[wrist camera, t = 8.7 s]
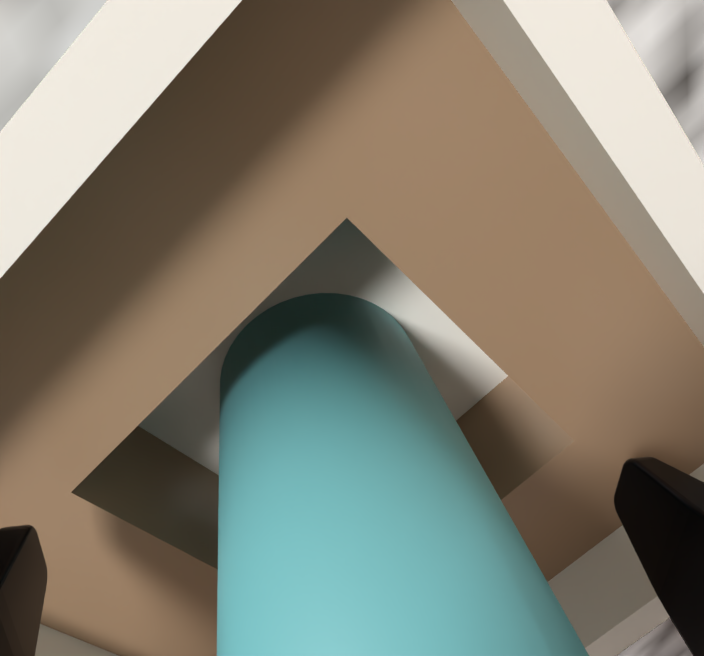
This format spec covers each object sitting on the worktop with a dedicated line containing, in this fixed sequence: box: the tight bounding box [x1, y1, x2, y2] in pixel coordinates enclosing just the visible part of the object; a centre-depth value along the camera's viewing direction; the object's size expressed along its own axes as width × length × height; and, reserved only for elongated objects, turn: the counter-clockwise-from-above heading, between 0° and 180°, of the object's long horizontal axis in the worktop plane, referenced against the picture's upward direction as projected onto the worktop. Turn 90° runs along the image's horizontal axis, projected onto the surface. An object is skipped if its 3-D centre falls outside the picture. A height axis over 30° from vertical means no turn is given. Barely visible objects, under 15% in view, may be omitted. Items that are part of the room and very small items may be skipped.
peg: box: [217, 293, 589, 656], centre depth 8 cm, size 4×4×9 cm
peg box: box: [0, 0, 704, 656], centre depth 11 cm, size 13×13×5 cm
